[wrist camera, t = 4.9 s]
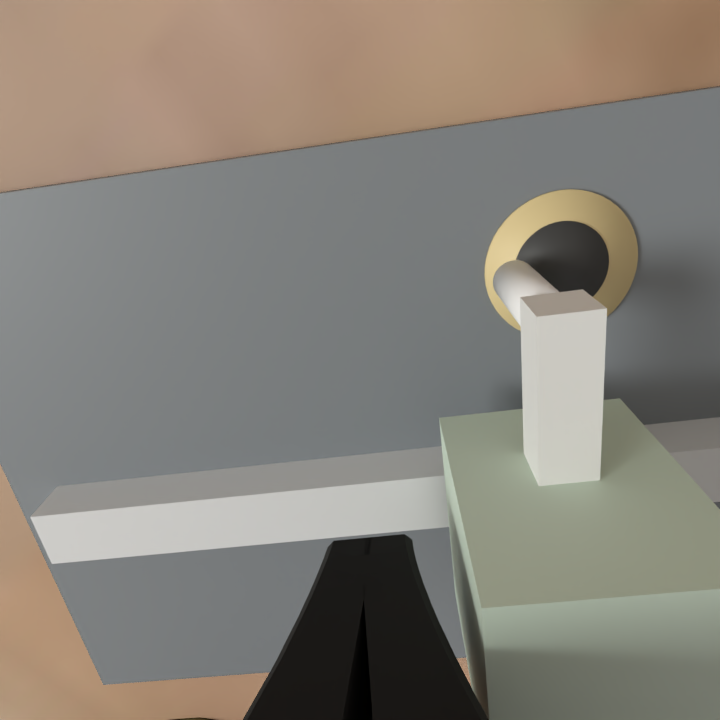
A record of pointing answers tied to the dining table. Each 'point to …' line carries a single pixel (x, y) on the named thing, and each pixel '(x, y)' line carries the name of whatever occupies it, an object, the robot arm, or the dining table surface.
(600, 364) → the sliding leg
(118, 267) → the plate
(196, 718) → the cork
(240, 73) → the dining table surface
